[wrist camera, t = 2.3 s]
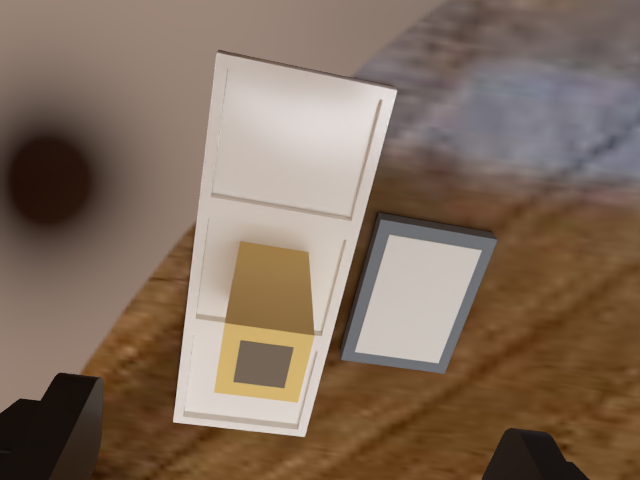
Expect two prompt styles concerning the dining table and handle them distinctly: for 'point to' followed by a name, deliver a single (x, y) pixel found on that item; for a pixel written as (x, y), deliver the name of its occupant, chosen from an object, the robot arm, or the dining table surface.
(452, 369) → the dining table surface
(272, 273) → the tan rectangular block
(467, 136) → the dining table surface
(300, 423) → the white panel
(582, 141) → the dining table surface
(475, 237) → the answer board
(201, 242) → the dish mid
